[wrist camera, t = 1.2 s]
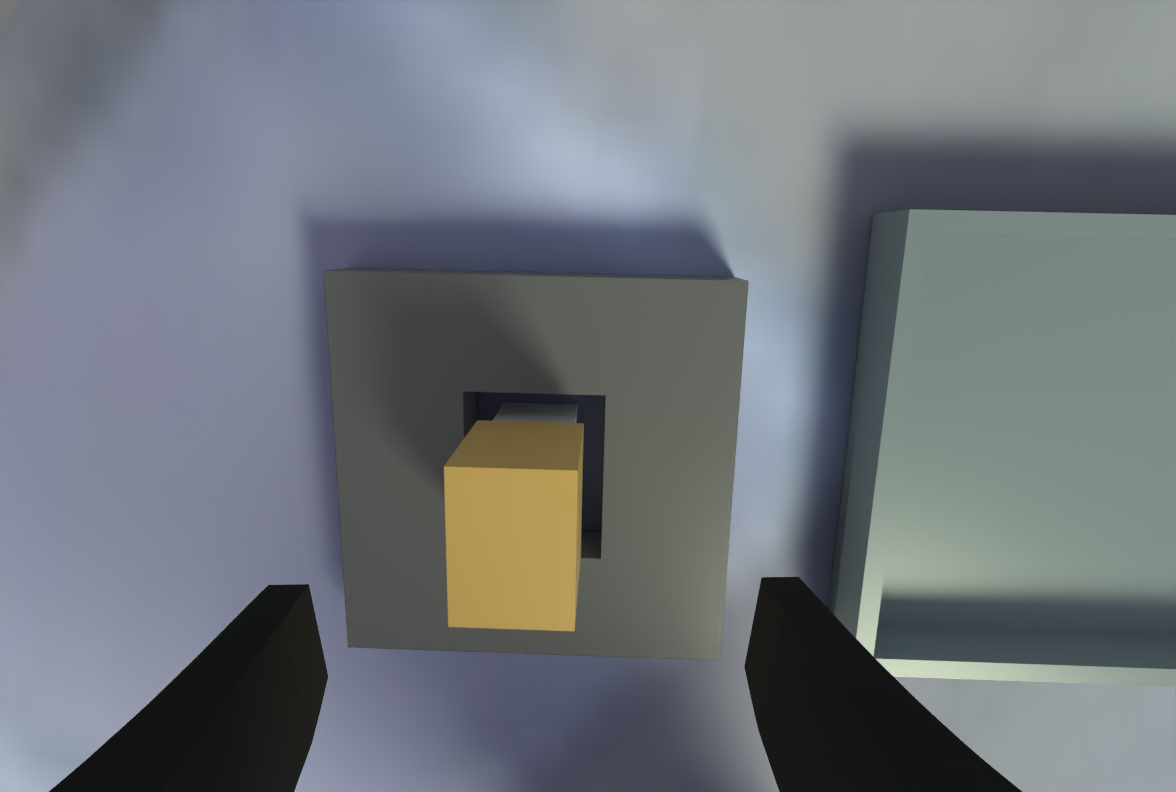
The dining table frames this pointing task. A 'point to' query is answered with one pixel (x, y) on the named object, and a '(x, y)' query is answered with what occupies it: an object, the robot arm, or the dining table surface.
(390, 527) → the fuse holder
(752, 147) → the dining table surface
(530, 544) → the block
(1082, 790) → the dining table surface
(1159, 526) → the parts tray
